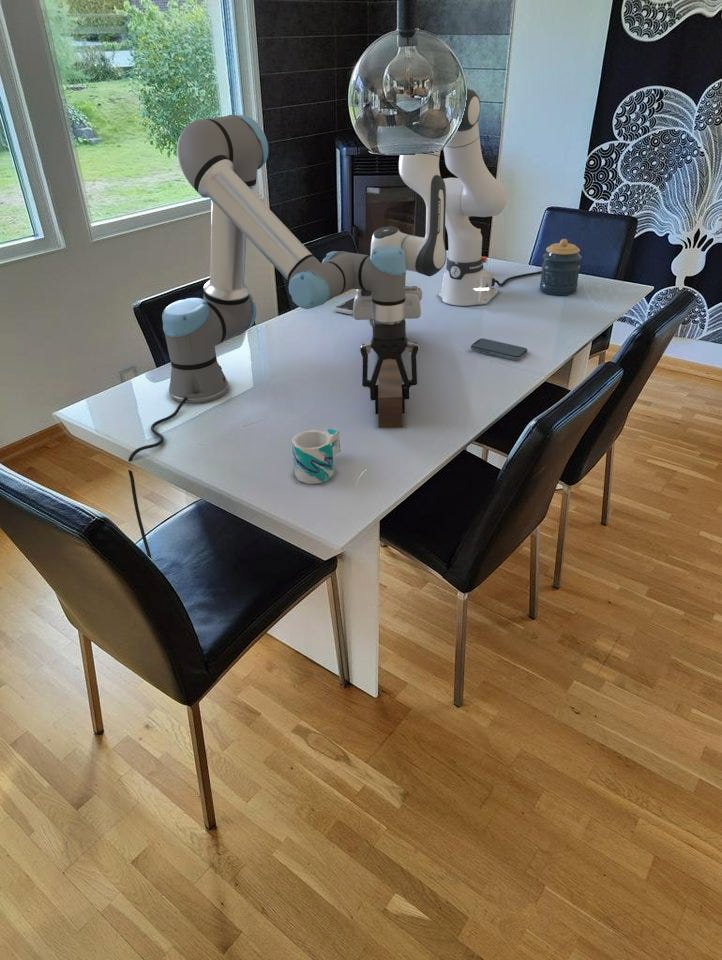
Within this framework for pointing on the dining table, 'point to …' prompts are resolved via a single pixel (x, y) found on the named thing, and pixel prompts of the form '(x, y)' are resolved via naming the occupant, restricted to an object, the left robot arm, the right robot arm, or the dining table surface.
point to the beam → (389, 395)
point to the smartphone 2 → (499, 349)
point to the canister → (560, 269)
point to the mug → (315, 455)
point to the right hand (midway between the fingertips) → (387, 332)
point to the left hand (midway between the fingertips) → (390, 411)
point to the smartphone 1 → (345, 307)
